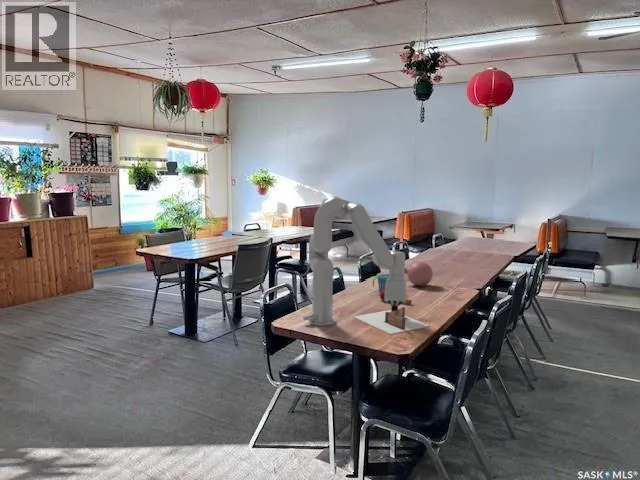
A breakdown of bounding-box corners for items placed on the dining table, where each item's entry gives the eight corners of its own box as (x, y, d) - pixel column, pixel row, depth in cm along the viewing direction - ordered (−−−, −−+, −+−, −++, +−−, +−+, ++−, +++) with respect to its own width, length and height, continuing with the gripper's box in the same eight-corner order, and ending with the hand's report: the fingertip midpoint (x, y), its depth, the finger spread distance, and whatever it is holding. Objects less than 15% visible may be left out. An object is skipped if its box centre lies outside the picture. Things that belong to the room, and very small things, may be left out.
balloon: (404, 281, 310) (404, 258, 308) (434, 284, 302) (435, 260, 299) (397, 286, 297) (397, 262, 294) (428, 289, 288) (429, 264, 286)
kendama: (412, 305, 260) (383, 296, 269) (413, 294, 257) (383, 286, 266) (407, 310, 254) (377, 301, 263) (408, 300, 251) (377, 291, 260)
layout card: (390, 334, 208) (390, 333, 208) (353, 317, 233) (353, 316, 232) (429, 326, 219) (429, 325, 219) (390, 310, 244) (390, 309, 244)
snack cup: (398, 290, 285) (398, 274, 284) (399, 295, 275) (400, 278, 274) (372, 290, 287) (372, 273, 285) (372, 294, 276) (372, 277, 275)
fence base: (402, 329, 213) (403, 319, 212) (384, 321, 224) (384, 312, 224) (405, 329, 214) (405, 319, 213) (387, 321, 225) (387, 311, 225)
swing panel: (389, 321, 224) (390, 312, 224) (387, 320, 225) (387, 311, 225) (405, 316, 232) (405, 307, 231) (402, 315, 233) (402, 307, 232)
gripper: (379, 277, 227) (378, 314, 230) (411, 279, 224) (409, 317, 226) (381, 274, 234) (380, 310, 237) (412, 276, 231) (410, 313, 233)
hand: (394, 313), depth 231 cm, fingers closed
